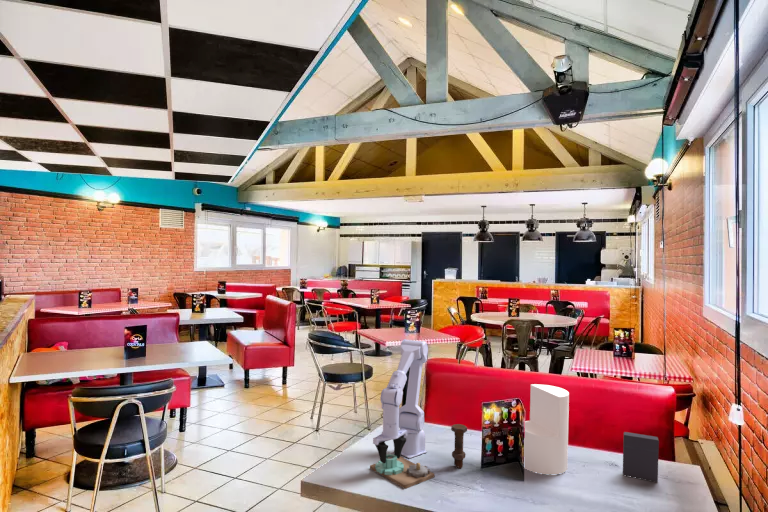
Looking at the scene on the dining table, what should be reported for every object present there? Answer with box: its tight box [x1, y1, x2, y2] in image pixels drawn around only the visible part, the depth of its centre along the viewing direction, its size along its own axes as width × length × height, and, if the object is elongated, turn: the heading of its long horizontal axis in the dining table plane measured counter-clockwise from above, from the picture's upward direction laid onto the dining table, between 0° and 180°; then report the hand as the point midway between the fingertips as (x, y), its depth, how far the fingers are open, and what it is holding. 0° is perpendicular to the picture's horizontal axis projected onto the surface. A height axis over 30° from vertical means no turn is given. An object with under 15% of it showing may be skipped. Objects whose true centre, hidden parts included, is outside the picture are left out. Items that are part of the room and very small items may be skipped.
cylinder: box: [524, 383, 570, 475], centre depth 182 cm, size 17×17×28 cm
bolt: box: [450, 423, 468, 469], centre depth 179 cm, size 6×5×15 cm
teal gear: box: [375, 453, 404, 475], centre depth 174 cm, size 10×10×4 cm
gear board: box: [369, 455, 436, 490], centre depth 173 cm, size 14×19×5 cm
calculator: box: [622, 431, 660, 483], centre depth 173 cm, size 11×4×15 cm, turn 65°
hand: (390, 459), depth 174 cm, fingers open, 6 cm apart
